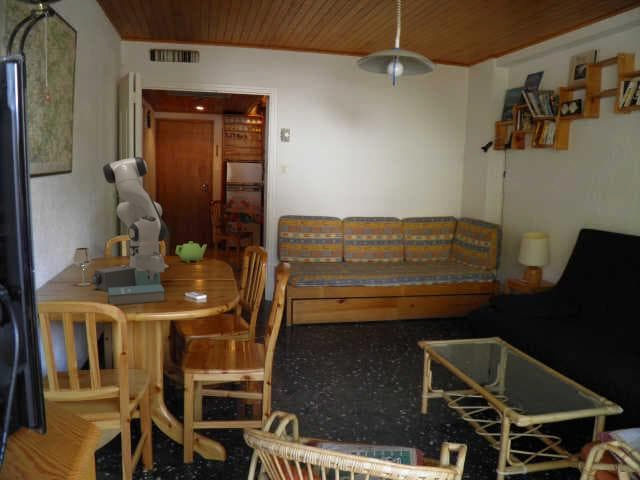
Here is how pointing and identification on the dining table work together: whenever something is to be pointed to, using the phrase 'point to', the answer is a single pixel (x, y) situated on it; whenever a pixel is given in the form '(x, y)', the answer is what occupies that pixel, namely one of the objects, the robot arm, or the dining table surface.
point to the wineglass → (82, 261)
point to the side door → (142, 278)
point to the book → (136, 294)
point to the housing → (114, 277)
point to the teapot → (191, 252)
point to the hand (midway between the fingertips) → (150, 279)
